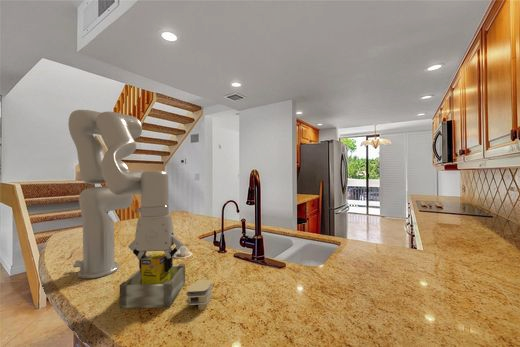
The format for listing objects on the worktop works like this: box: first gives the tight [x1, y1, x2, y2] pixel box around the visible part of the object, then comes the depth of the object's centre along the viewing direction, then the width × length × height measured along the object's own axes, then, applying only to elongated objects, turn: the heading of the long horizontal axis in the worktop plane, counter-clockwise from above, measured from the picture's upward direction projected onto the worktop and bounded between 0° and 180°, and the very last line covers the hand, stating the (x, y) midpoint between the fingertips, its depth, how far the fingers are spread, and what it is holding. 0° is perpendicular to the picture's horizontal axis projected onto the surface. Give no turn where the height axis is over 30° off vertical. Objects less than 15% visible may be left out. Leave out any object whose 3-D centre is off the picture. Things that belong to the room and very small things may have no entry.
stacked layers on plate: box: [185, 278, 213, 310], centre depth 64 cm, size 10×9×6 cm
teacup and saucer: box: [173, 245, 193, 259], centre depth 101 cm, size 9×8×4 cm
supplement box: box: [141, 251, 170, 285], centre depth 69 cm, size 6×6×11 cm
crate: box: [119, 263, 186, 309], centre depth 69 cm, size 14×14×6 cm
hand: (156, 269), depth 69 cm, fingers closed on supplement box, 6 cm apart
